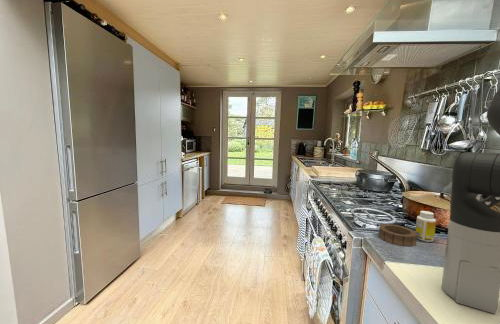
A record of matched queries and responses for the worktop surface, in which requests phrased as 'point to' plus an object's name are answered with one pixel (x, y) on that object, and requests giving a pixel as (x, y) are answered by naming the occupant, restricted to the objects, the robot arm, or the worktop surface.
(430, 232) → the supplement bottle
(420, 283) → the worktop surface
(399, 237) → the walnut collar
